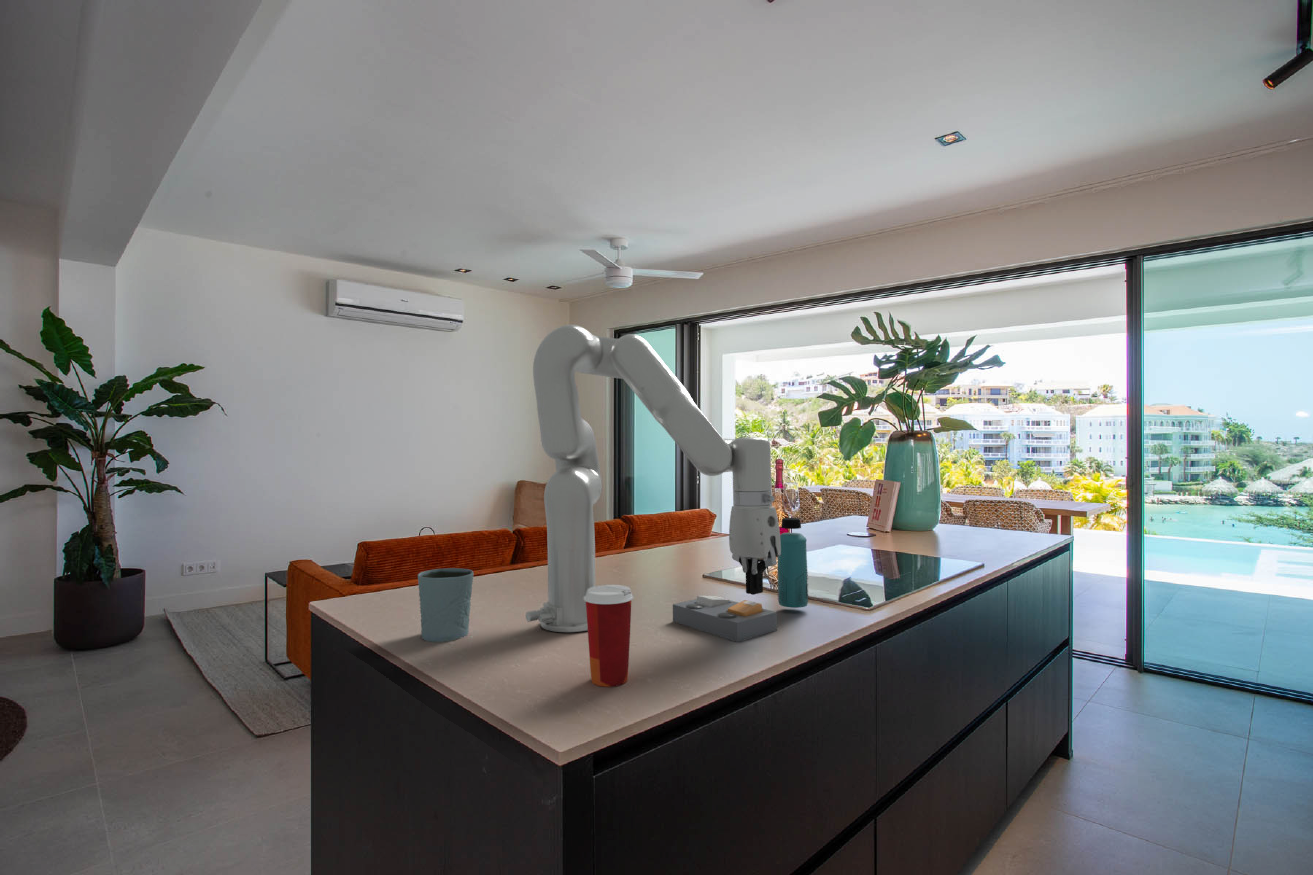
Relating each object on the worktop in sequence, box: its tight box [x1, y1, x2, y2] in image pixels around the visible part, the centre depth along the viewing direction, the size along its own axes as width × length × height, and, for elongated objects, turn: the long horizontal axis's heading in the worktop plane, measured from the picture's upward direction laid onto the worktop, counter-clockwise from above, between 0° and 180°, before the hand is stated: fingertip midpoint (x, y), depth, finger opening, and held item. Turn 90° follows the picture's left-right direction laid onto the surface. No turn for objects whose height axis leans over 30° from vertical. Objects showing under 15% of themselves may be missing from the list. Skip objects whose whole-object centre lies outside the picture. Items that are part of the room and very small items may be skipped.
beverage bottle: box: [776, 517, 809, 609], centre depth 139 cm, size 6×7×20 cm
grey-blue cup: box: [417, 567, 475, 643], centre depth 124 cm, size 10×10×12 cm
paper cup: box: [584, 584, 634, 688], centre depth 100 cm, size 8×8×14 cm
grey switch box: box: [672, 598, 778, 643], centre depth 128 cm, size 11×18×4 cm, turn 39°
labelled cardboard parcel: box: [728, 599, 763, 617], centre depth 126 cm, size 5×4×2 cm
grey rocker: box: [696, 595, 730, 608], centre depth 133 cm, size 5×4×2 cm
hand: (754, 592), depth 127 cm, fingers closed
